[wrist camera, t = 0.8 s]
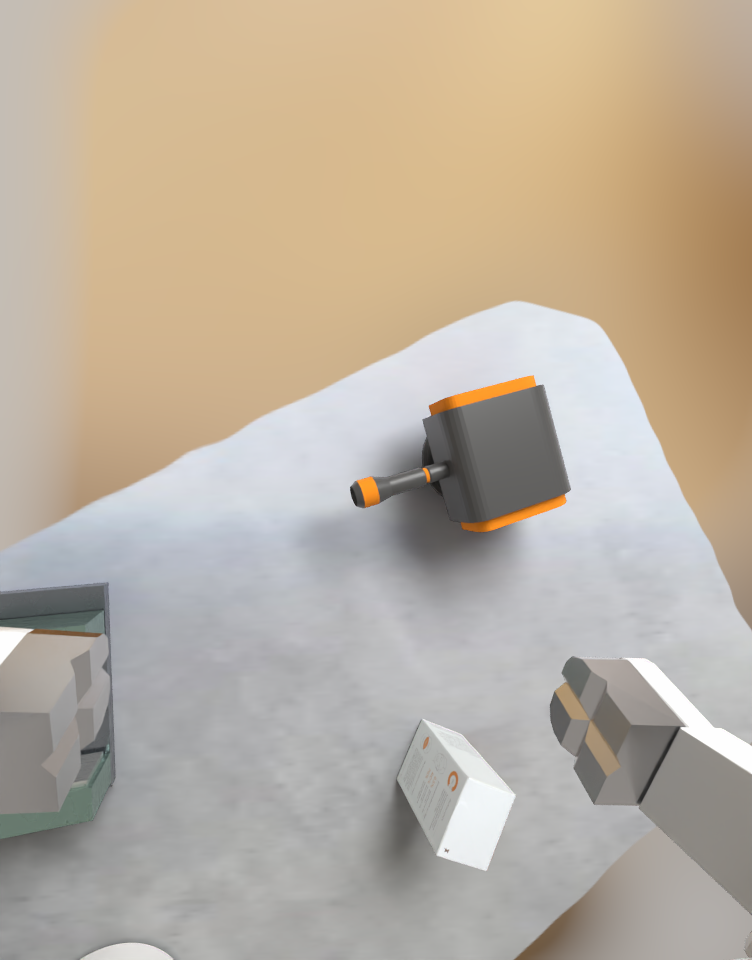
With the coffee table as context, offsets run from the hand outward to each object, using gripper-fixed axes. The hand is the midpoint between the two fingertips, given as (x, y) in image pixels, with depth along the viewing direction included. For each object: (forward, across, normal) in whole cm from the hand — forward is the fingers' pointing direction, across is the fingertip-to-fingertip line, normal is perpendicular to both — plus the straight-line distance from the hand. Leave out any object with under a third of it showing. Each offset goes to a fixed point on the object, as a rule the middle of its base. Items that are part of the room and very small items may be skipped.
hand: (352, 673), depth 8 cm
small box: (+35, +20, -46) cm, 61 cm away
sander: (+49, +16, -12) cm, 53 cm away
